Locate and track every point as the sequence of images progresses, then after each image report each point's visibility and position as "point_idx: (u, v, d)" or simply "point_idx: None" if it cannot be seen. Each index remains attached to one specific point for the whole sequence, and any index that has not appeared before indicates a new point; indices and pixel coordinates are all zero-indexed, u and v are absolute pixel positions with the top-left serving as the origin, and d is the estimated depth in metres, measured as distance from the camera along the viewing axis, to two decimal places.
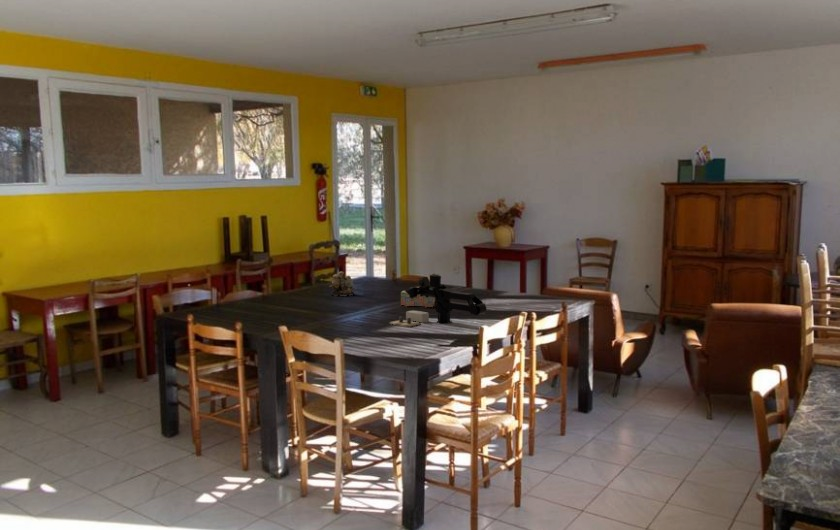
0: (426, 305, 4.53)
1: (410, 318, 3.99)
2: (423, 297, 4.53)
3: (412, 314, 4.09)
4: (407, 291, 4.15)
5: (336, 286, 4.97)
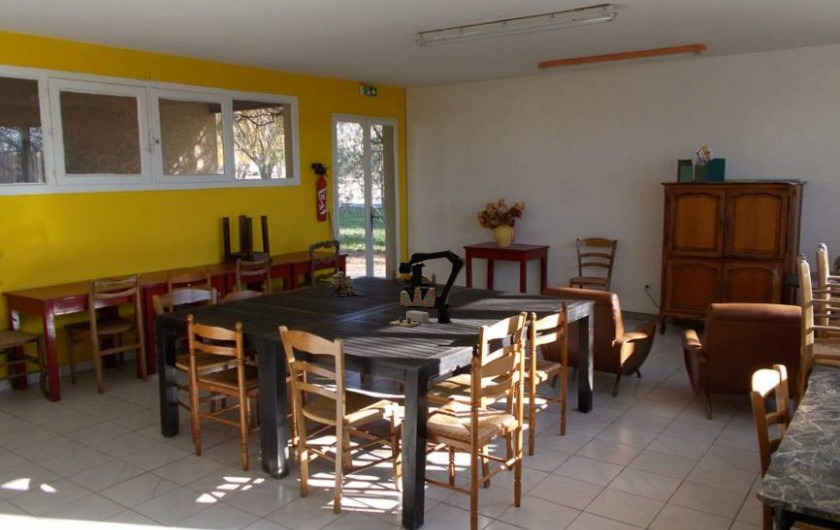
0: (426, 305, 4.53)
1: (410, 318, 3.99)
2: None
3: (412, 314, 4.09)
4: (411, 298, 4.05)
5: (336, 286, 4.97)
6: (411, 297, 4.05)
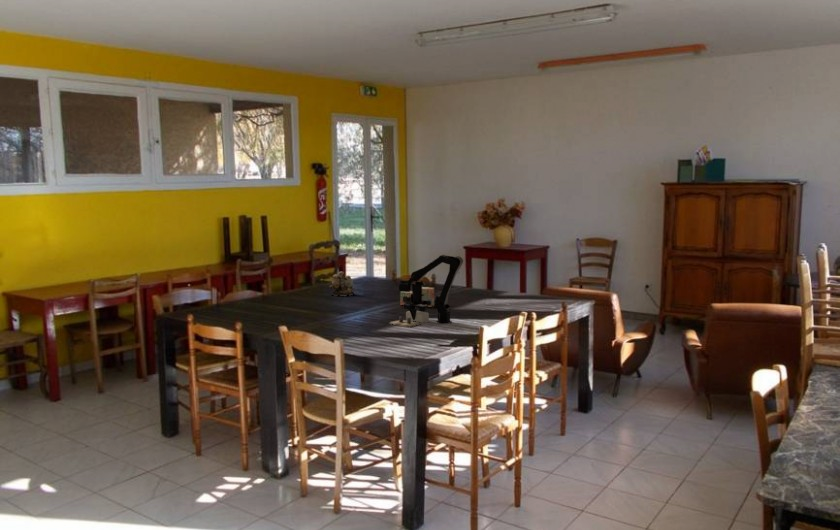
0: None
1: (410, 318, 3.99)
2: (422, 297, 4.53)
3: None
4: (413, 315, 4.08)
5: (336, 286, 4.97)
6: (413, 315, 4.08)
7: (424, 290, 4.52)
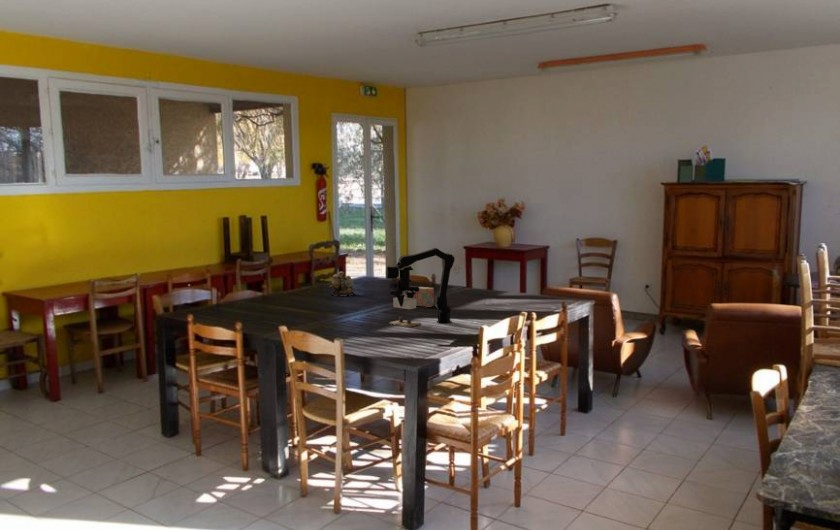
0: (425, 305, 4.53)
1: (410, 318, 3.99)
2: (422, 297, 4.53)
3: None
4: (400, 302, 3.97)
5: (336, 286, 4.97)
6: (400, 301, 3.97)
7: (424, 290, 4.52)
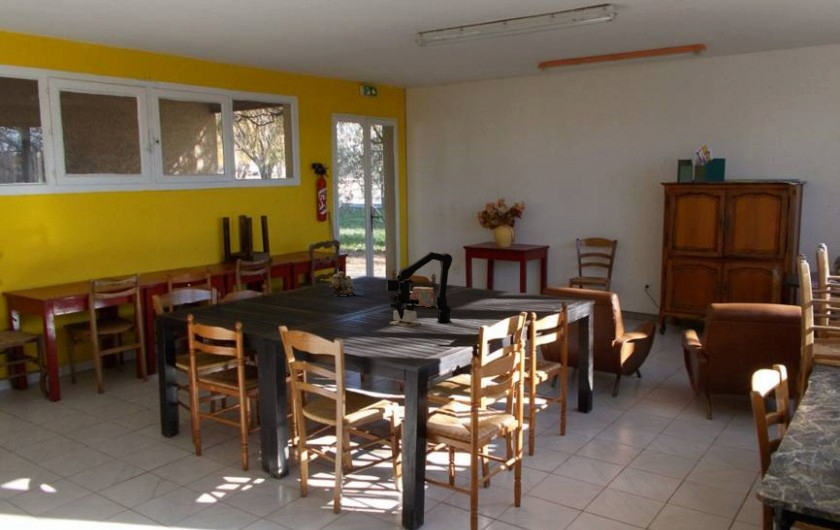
0: (425, 305, 4.53)
1: None
2: (422, 297, 4.53)
3: None
4: (400, 315, 3.98)
5: (336, 286, 4.97)
6: (400, 314, 3.98)
7: (423, 290, 4.52)
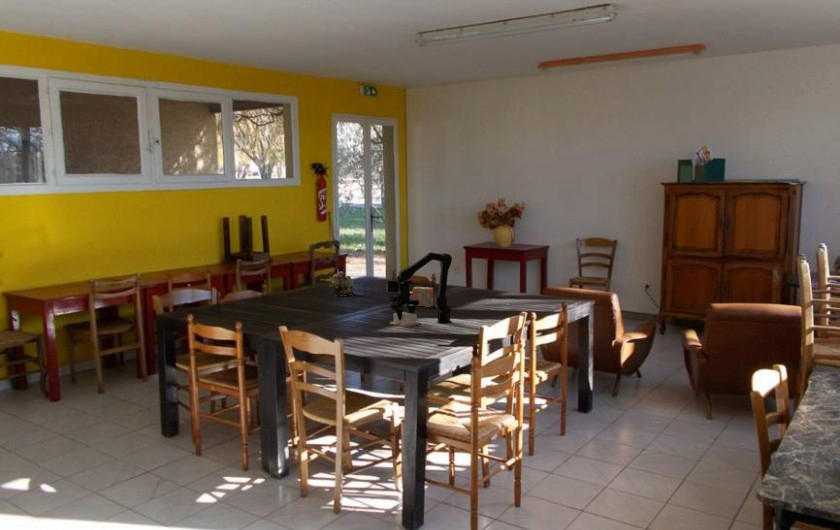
0: (424, 305, 4.53)
1: None
2: (421, 297, 4.53)
3: None
4: (399, 316, 3.97)
5: (336, 286, 4.97)
6: (399, 315, 3.97)
7: (423, 290, 4.52)
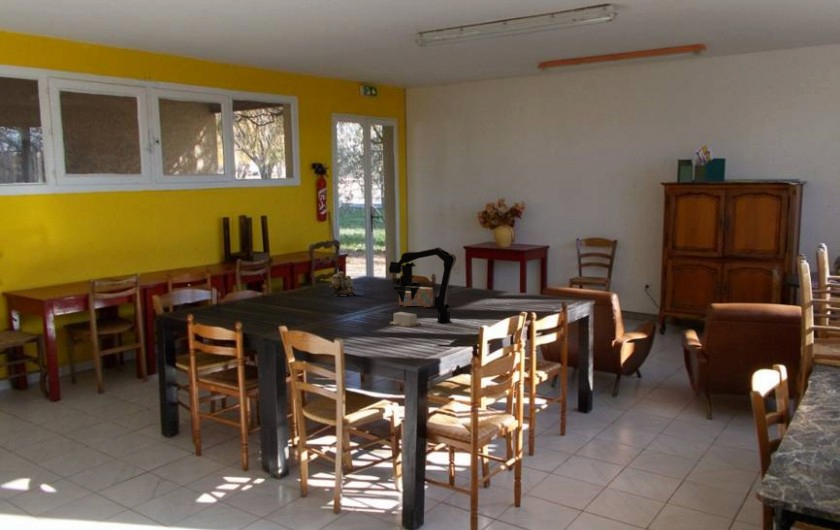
0: (424, 305, 4.53)
1: None
2: (421, 297, 4.53)
3: (399, 316, 4.00)
4: (401, 297, 4.06)
5: (336, 286, 4.97)
6: (401, 296, 4.06)
7: (423, 290, 4.52)
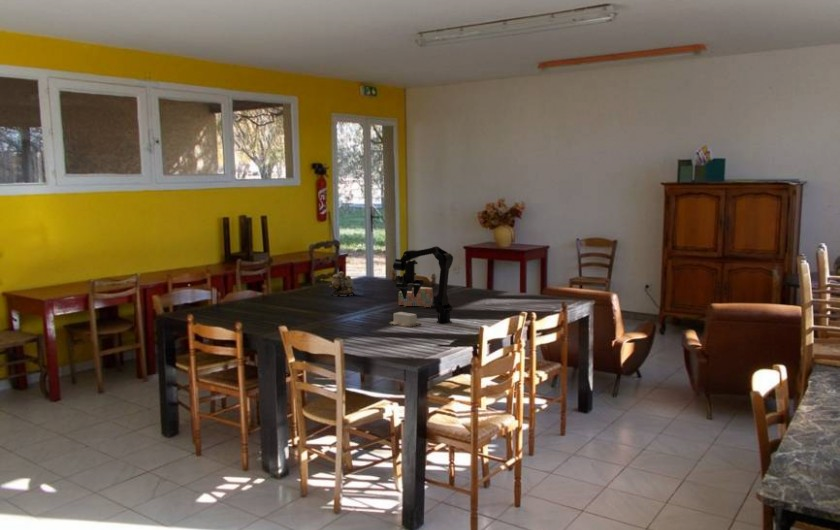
0: (424, 305, 4.53)
1: None
2: (421, 297, 4.53)
3: (399, 316, 4.00)
4: (404, 294, 4.14)
5: (336, 286, 4.97)
6: (404, 294, 4.14)
7: (422, 290, 4.52)
